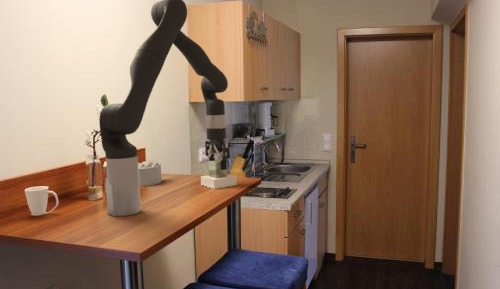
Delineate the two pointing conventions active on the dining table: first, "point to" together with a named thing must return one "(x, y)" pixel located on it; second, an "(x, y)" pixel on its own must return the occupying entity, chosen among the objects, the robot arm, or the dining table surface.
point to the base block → (218, 181)
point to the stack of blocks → (105, 177)
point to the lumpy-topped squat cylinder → (149, 173)
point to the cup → (39, 199)
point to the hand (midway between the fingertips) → (217, 168)
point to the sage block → (216, 169)
